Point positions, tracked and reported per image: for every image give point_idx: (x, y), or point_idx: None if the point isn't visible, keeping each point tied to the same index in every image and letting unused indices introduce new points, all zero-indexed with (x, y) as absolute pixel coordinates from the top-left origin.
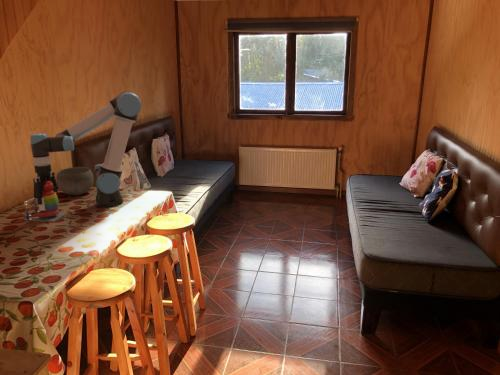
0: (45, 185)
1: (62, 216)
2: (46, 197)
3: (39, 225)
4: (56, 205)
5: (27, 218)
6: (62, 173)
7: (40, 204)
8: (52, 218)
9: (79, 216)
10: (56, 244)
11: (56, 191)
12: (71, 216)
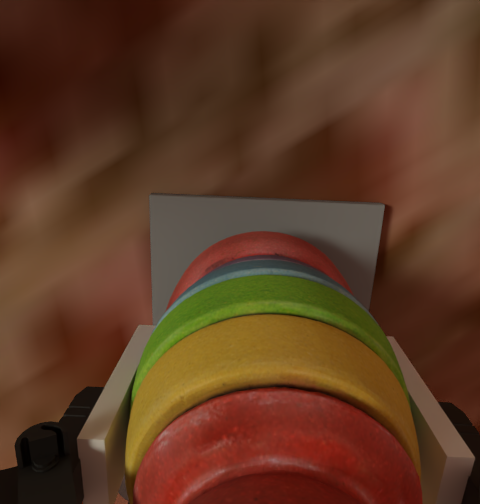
0: None
1: (234, 198)
2: (411, 424)
3: (465, 280)
4: (281, 262)
5: None
6: None
7: (452, 412)
8: None
9: (194, 16)
10: None
11: (65, 435)
12: (205, 113)
